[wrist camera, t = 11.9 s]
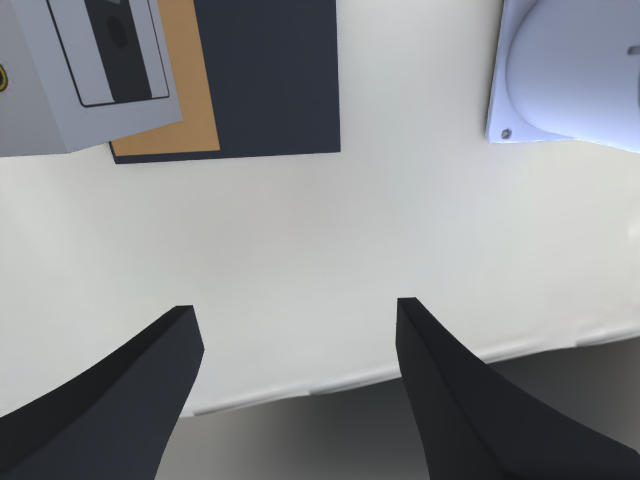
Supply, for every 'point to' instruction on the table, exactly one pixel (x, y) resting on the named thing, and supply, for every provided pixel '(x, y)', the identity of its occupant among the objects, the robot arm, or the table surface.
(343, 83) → the table surface
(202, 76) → the desk mat
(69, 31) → the cassette player
